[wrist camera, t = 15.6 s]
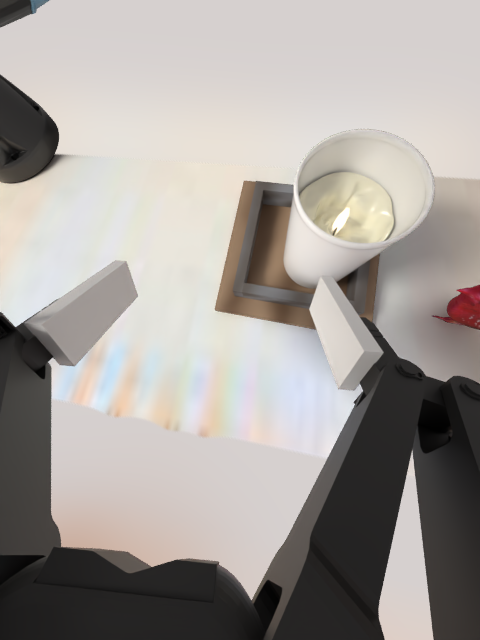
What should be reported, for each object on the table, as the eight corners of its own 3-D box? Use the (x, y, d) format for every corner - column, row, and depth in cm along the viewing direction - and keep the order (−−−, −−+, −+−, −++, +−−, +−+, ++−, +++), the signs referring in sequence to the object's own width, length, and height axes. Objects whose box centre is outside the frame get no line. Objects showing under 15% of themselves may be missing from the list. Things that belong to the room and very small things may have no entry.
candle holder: (368, 256, 25) (466, 174, 13) (318, 310, 25) (375, 274, 13) (310, 213, 27) (351, 107, 15) (262, 263, 26) (267, 192, 15)
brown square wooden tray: (216, 310, 27) (210, 304, 23) (244, 186, 30) (242, 164, 26) (365, 338, 25) (383, 336, 21) (381, 201, 27) (399, 179, 24)
